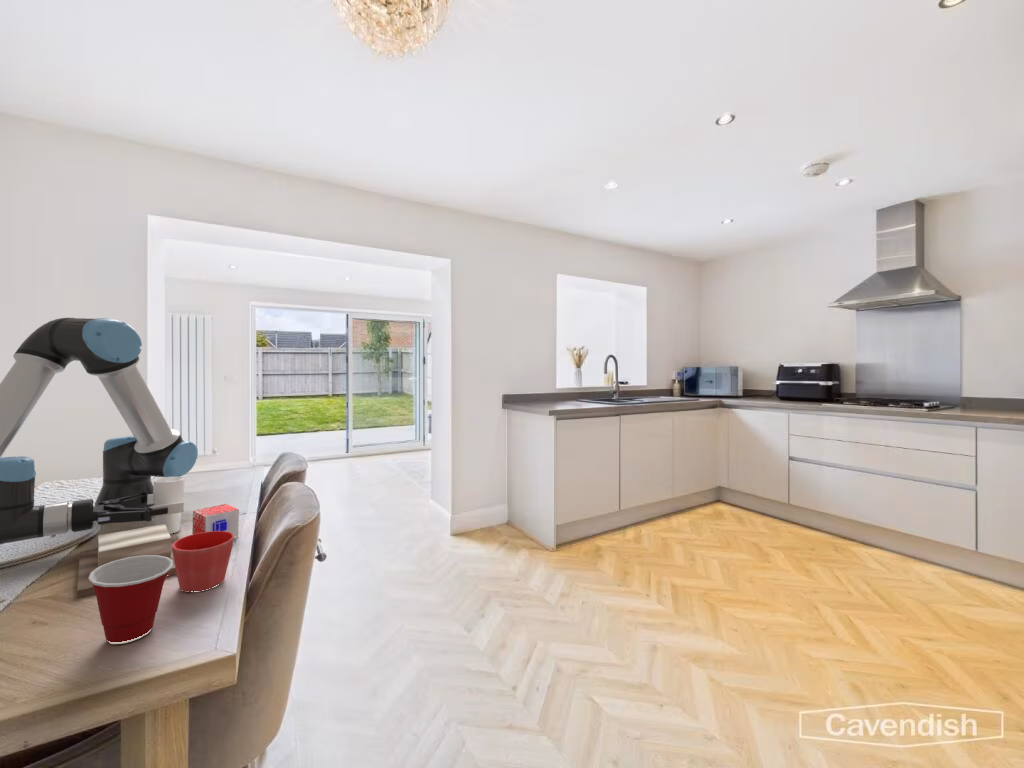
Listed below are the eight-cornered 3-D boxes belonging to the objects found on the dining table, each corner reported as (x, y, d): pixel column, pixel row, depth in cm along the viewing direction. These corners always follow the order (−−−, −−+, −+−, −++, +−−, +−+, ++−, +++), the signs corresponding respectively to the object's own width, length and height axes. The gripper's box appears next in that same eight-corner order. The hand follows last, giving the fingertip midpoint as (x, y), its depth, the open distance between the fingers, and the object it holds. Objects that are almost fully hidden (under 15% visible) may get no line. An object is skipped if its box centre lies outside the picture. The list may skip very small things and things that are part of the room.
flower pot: (244, 577, 93) (246, 534, 93) (193, 602, 82) (194, 553, 82) (211, 568, 96) (212, 527, 96) (158, 591, 86) (159, 544, 86)
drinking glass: (189, 529, 119) (191, 477, 119) (167, 538, 112) (169, 483, 112) (168, 527, 120) (169, 475, 119) (145, 536, 113) (146, 481, 113)
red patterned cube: (225, 531, 119) (225, 503, 119) (238, 537, 115) (239, 509, 114) (191, 539, 112) (192, 510, 112) (204, 547, 108) (205, 516, 108)
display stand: (79, 557, 99) (80, 531, 99) (176, 539, 112) (176, 515, 112) (76, 598, 82) (77, 565, 82) (190, 570, 95) (191, 542, 95)
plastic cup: (139, 655, 67) (140, 581, 66) (66, 656, 66) (68, 582, 66) (186, 616, 77) (188, 553, 77) (125, 617, 77) (126, 552, 76)
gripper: (72, 518, 111) (173, 503, 126) (67, 547, 94) (186, 526, 109) (73, 490, 111) (174, 479, 126) (68, 515, 94) (186, 498, 109)
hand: (180, 501), depth 117 cm, fingers open, 13 cm apart
